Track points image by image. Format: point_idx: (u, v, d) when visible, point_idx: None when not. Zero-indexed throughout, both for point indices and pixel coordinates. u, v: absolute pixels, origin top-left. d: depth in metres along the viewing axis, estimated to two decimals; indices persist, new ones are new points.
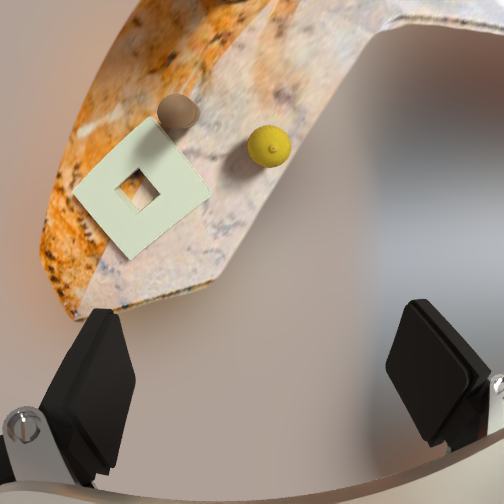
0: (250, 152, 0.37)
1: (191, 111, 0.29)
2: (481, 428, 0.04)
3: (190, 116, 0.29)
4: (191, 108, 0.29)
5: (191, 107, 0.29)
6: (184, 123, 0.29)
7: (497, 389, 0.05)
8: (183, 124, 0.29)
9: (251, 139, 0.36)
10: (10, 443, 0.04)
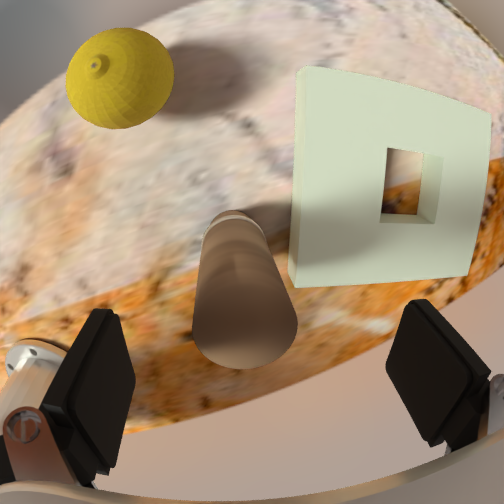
0: (160, 86, 0.12)
1: (206, 305, 0.10)
2: (481, 428, 0.04)
3: (218, 295, 0.10)
4: (201, 311, 0.10)
5: (199, 313, 0.10)
6: (246, 289, 0.10)
7: (497, 389, 0.05)
8: (251, 288, 0.10)
9: (137, 112, 0.12)
10: (10, 443, 0.04)
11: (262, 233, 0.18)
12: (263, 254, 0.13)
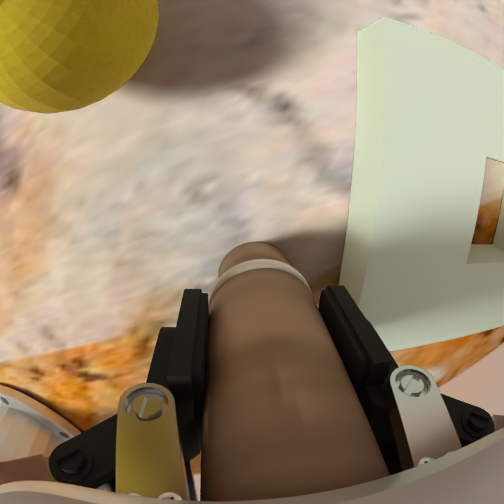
0: (124, 21, 0.05)
1: None
2: (397, 435, 0.05)
3: None
4: None
5: None
6: None
7: (401, 386, 0.06)
8: None
9: (75, 74, 0.05)
10: (135, 422, 0.05)
11: (309, 290, 0.11)
12: (335, 373, 0.06)
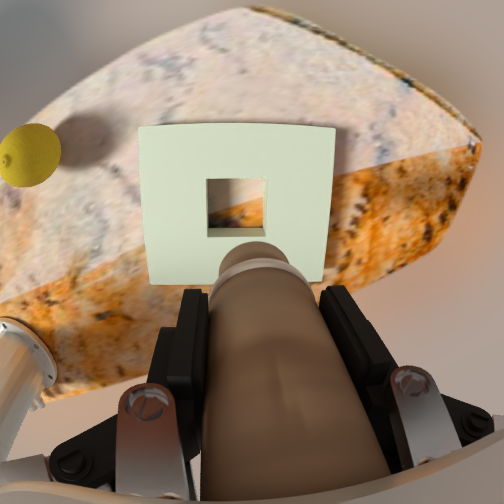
0: (43, 163, 0.19)
1: None
2: (397, 435, 0.05)
3: None
4: None
5: None
6: None
7: (401, 386, 0.06)
8: None
9: (33, 180, 0.19)
10: (135, 422, 0.05)
11: (310, 289, 0.10)
12: (336, 373, 0.06)
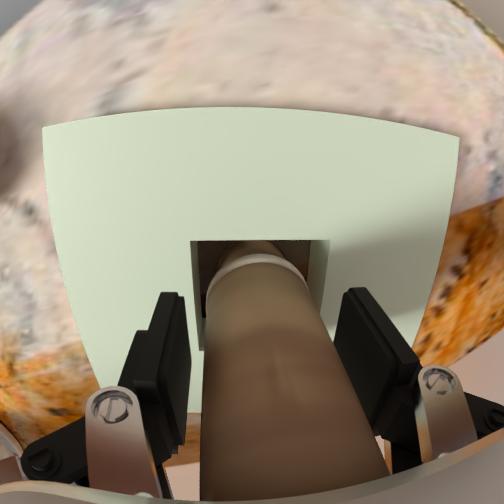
0: None
1: None
2: (420, 430, 0.05)
3: None
4: None
5: None
6: None
7: (428, 383, 0.06)
8: None
9: None
10: (99, 424, 0.05)
11: (305, 284, 0.11)
12: (329, 361, 0.06)
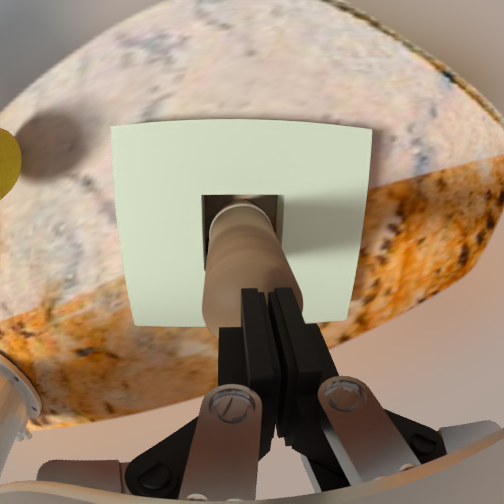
0: None
1: (216, 283, 0.11)
2: (339, 456, 0.05)
3: (227, 273, 0.11)
4: (211, 289, 0.11)
5: (209, 292, 0.11)
6: (255, 268, 0.11)
7: (332, 401, 0.06)
8: (259, 267, 0.11)
9: None
10: (225, 426, 0.05)
11: (269, 220, 0.18)
12: (270, 238, 0.14)
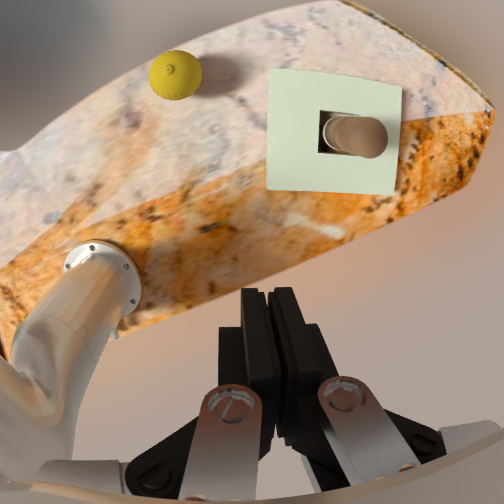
0: (196, 80, 0.26)
1: (356, 123, 0.24)
2: (339, 456, 0.05)
3: (361, 119, 0.23)
4: (354, 125, 0.24)
5: (354, 126, 0.24)
6: (371, 118, 0.23)
7: (332, 401, 0.06)
8: (372, 119, 0.23)
9: (185, 92, 0.27)
10: (225, 426, 0.05)
11: None
12: None
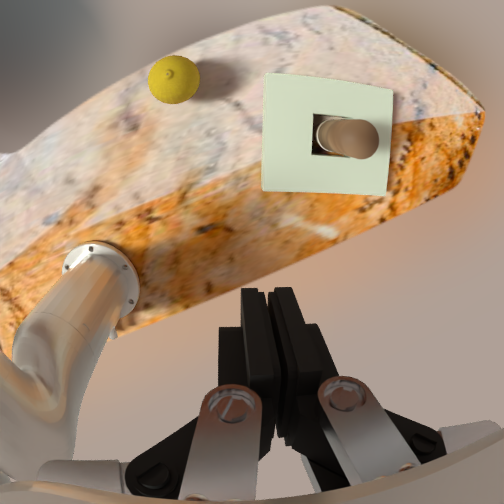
0: (194, 84, 0.27)
1: (349, 125, 0.25)
2: (339, 456, 0.05)
3: (353, 122, 0.25)
4: (346, 128, 0.25)
5: (346, 129, 0.25)
6: (362, 121, 0.25)
7: (332, 401, 0.06)
8: (363, 121, 0.25)
9: (184, 96, 0.28)
10: (225, 426, 0.05)
11: None
12: None
